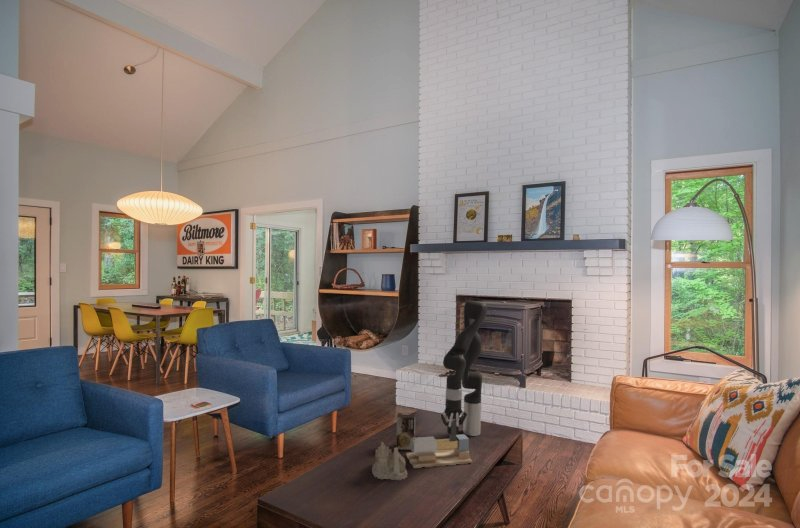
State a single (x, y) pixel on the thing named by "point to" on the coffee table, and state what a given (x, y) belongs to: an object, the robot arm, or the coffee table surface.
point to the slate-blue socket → (462, 447)
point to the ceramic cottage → (389, 464)
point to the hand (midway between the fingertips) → (452, 433)
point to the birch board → (439, 459)
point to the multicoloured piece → (452, 440)
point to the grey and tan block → (424, 449)
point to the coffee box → (405, 430)
